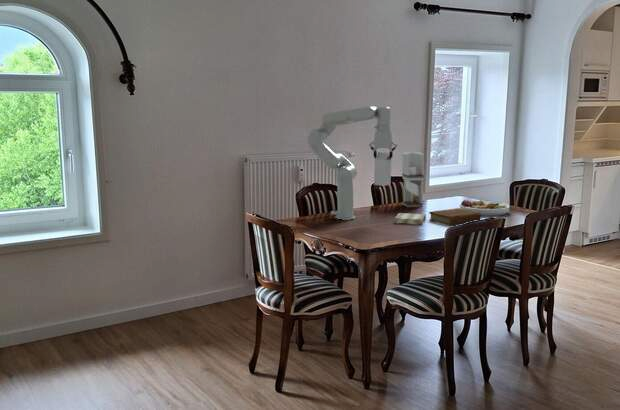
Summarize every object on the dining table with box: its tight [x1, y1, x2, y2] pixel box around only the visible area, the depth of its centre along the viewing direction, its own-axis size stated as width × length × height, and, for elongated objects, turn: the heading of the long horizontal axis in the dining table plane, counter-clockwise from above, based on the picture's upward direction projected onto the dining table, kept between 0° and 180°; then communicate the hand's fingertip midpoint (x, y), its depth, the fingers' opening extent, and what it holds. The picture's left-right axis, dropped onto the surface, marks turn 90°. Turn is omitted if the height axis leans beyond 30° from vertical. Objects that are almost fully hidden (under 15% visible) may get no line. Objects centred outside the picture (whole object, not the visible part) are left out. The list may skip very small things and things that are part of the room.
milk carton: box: [373, 151, 392, 187], centre depth 357 cm, size 7×7×19 cm
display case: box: [401, 152, 425, 208], centre depth 409 cm, size 11×11×35 cm
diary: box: [429, 207, 482, 227], centre depth 359 cm, size 23×19×6 cm
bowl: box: [459, 199, 510, 217], centre depth 384 cm, size 30×30×8 cm
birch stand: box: [394, 212, 427, 225], centre depth 360 cm, size 16×16×3 cm
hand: (382, 158), depth 356 cm, fingers closed on milk carton, 8 cm apart
